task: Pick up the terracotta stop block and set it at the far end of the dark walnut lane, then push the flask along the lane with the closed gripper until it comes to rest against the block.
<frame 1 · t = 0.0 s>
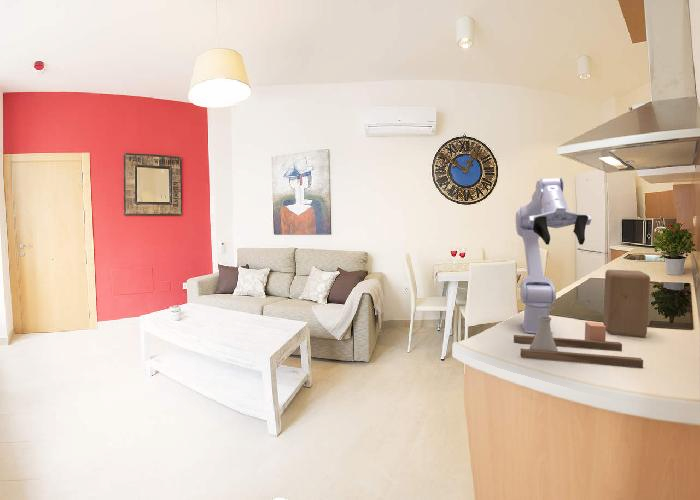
hand: (565, 241, 88), 32 cm above the counter, tool tilted 50°, fingers open, 7 cm apart
wooden block: (623, 332, 114), on the counter
walnut lane: (571, 353, 98), on the counter
stop block: (594, 343, 104), on the counter
flask: (543, 351, 100), on the counter
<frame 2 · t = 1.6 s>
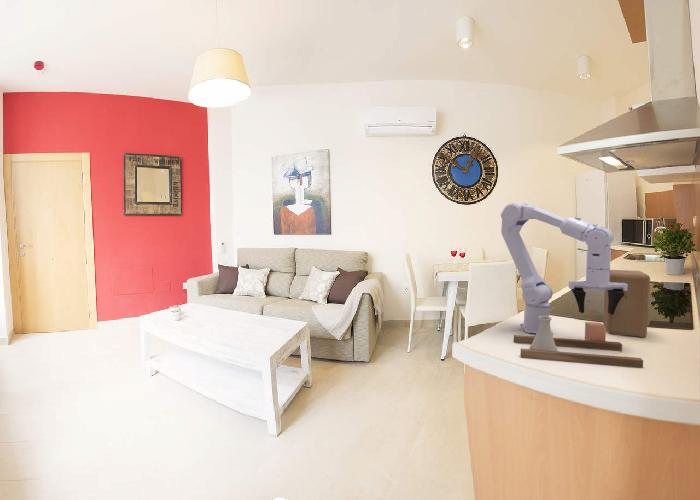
hand: (595, 313, 104), 9 cm above the counter, tool pointing down, fingers open, 7 cm apart
nothing on the counter moved.
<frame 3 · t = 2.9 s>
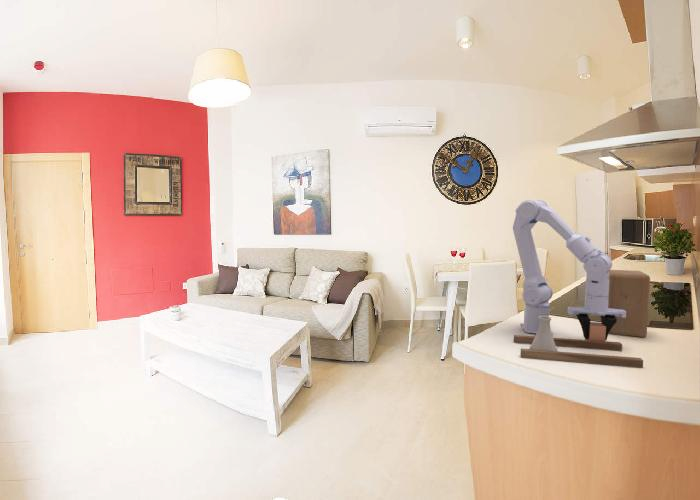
hand: (594, 338, 104), 1 cm above the counter, tool pointing down, fingers closed on stop block, 4 cm apart
stop block: (594, 343, 104), on the counter, touching gripper
everything else where it was.
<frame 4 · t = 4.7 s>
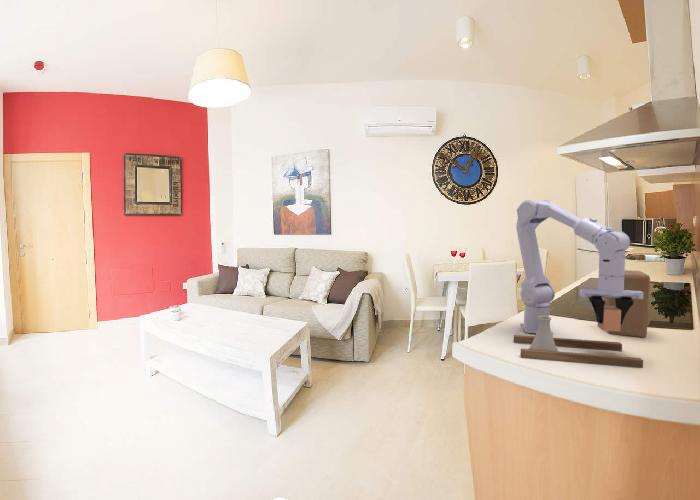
hand: (609, 323, 97), 9 cm above the counter, tool pointing down, fingers closed on stop block, 4 cm apart
stop block: (608, 328, 97), point 7 cm above the counter, touching gripper
everything else where it was.
when the fingers open (3 cm above the counter, at t = 6.4 s): stop block drops 1 cm, on the counter.
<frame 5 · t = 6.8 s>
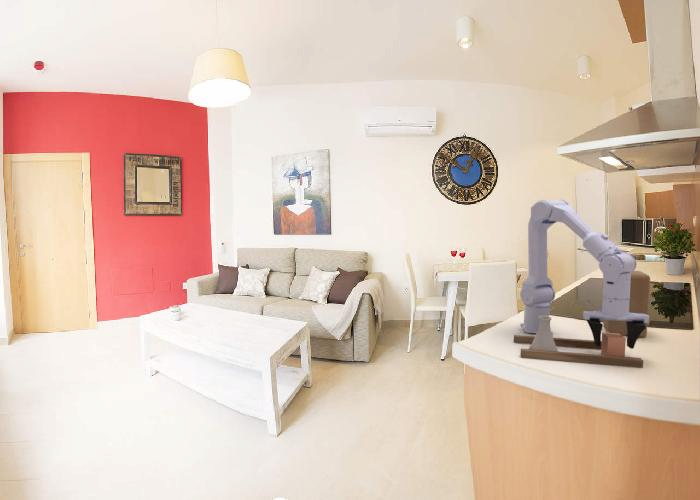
hand: (613, 346, 94), 3 cm above the counter, tool pointing down, fingers open, 7 cm apart
stop block: (612, 356, 95), on the counter
everything else where it was.
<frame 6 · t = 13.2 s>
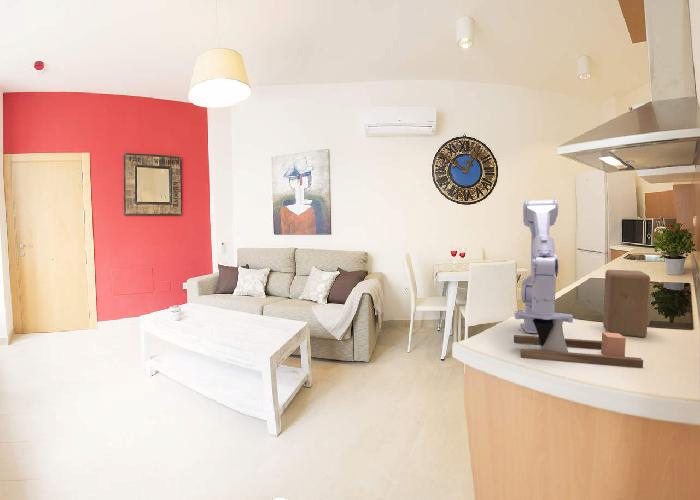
hand: (541, 344, 99), 2 cm above the counter, tool pointing down, fingers closed, pressing on flask
flask: (553, 351, 99), on the counter, touching gripper
everything else where it was.
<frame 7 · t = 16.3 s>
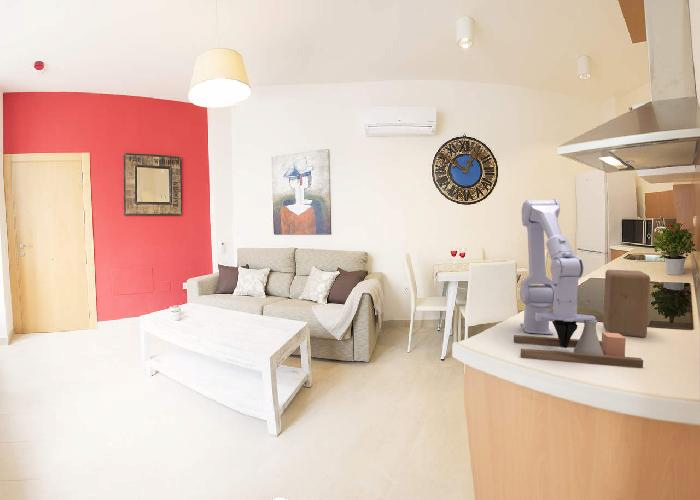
hand: (563, 346, 98), 2 cm above the counter, tool pointing down, fingers closed
flask: (588, 355, 96), on the counter
everything else where it was.
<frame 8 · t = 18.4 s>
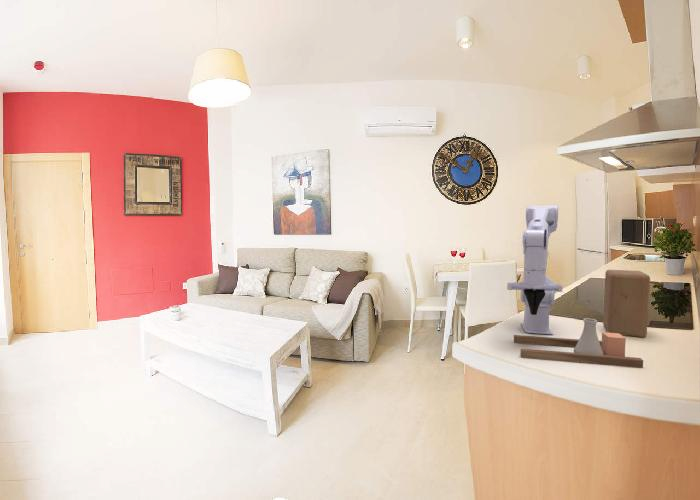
hand: (533, 313, 104), 9 cm above the counter, tool pointing down, fingers closed
nothing on the counter moved.
at the end: flask inside the target area (0.2 cm from its centre), on the counter; flask 5.8 cm from the stop block (horizontally); flask tilted 0° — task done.
